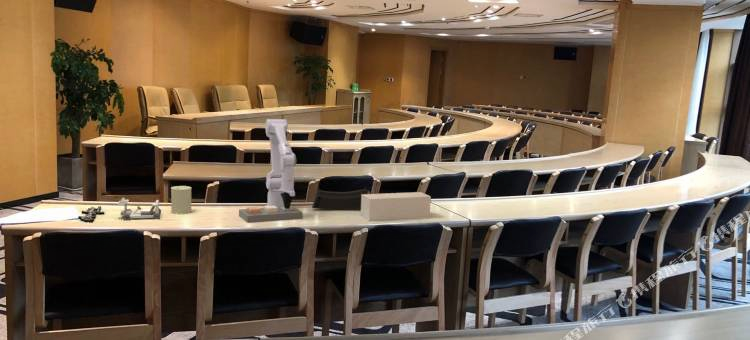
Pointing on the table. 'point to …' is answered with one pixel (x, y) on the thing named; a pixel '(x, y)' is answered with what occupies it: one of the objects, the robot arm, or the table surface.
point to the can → (181, 199)
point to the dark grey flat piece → (91, 214)
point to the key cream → (270, 209)
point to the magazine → (339, 200)
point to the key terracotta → (253, 210)
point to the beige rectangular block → (395, 206)
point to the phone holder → (140, 214)
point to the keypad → (270, 215)
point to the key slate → (286, 209)
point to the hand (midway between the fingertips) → (287, 208)
